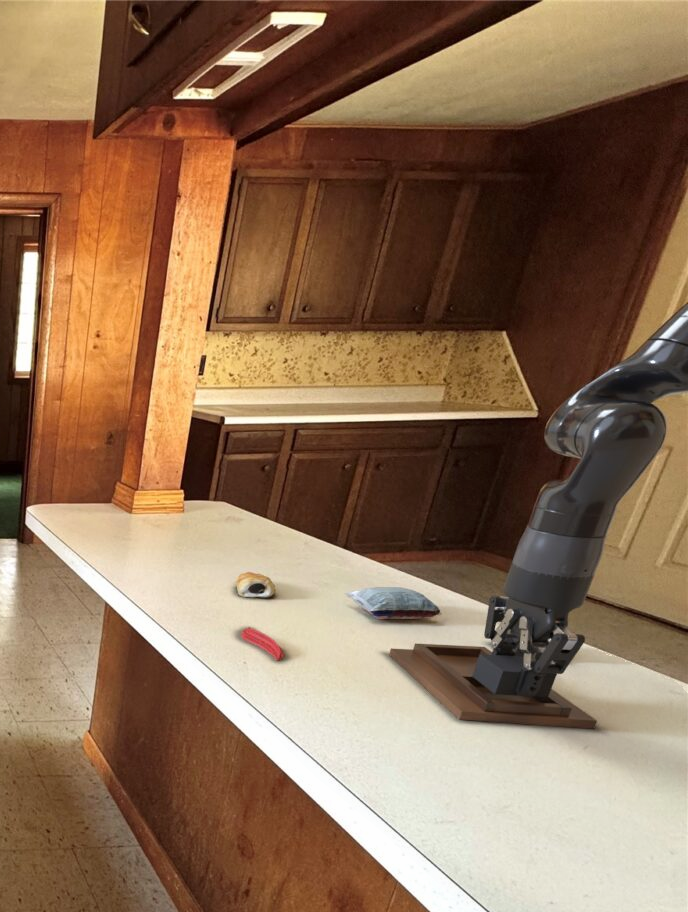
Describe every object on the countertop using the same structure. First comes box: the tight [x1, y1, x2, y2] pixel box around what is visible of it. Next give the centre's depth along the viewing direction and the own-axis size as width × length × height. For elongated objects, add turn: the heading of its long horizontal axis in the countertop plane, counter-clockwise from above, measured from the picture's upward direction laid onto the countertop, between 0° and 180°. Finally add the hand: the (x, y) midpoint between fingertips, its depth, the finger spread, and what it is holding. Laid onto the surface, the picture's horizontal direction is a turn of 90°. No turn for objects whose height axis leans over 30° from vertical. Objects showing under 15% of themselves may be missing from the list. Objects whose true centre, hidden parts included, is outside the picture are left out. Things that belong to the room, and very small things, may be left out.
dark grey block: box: [472, 654, 558, 697], centre depth 88 cm, size 6×5×4 cm
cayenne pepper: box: [241, 626, 285, 662], centre depth 109 cm, size 12×5×2 cm, turn 167°
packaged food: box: [344, 586, 442, 620], centre depth 117 cm, size 9×12×5 cm
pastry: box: [235, 571, 276, 598], centre depth 130 cm, size 9×7×4 cm
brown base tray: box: [388, 643, 598, 730], centre depth 94 cm, size 15×19×2 cm
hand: (509, 683), depth 88 cm, fingers closed on dark grey block, 5 cm apart
